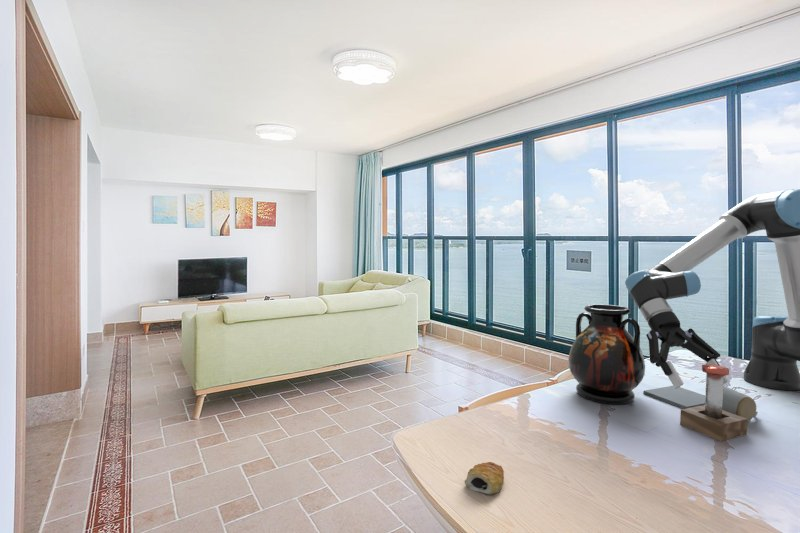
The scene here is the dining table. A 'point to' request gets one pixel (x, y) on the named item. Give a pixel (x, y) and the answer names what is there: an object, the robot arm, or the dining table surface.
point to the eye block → (713, 423)
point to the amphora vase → (606, 355)
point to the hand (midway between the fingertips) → (702, 385)
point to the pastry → (485, 478)
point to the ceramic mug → (738, 403)
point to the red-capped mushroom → (714, 389)
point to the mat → (677, 396)
